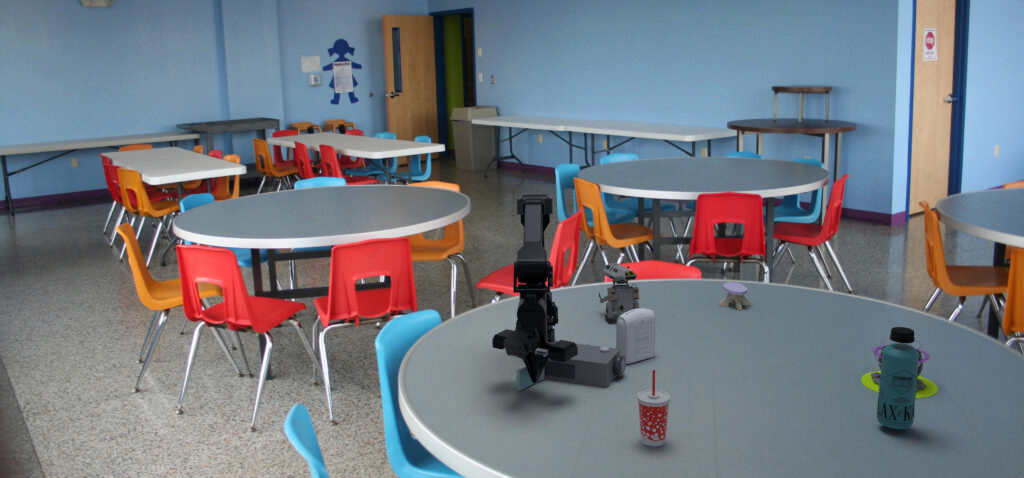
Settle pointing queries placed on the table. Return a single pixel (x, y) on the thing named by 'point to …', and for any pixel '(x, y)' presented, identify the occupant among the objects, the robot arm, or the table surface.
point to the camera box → (588, 366)
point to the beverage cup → (653, 415)
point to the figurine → (620, 291)
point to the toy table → (735, 295)
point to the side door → (525, 378)
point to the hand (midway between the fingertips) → (535, 382)
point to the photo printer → (636, 334)
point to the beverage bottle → (898, 380)
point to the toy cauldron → (923, 385)
